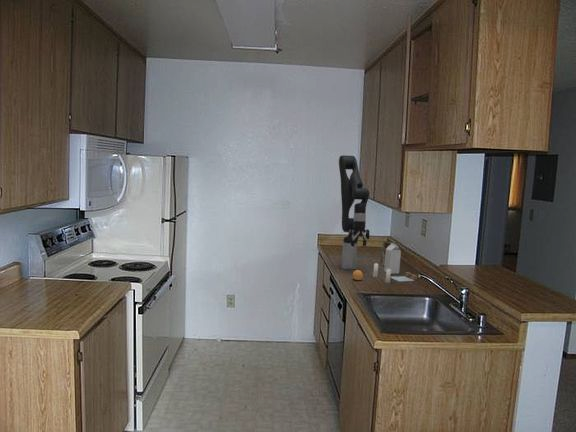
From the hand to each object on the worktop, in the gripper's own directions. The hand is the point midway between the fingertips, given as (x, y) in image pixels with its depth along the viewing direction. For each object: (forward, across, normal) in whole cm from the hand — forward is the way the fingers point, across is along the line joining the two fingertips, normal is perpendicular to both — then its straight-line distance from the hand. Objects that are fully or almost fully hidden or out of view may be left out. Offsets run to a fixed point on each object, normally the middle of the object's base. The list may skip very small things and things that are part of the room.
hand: (358, 246), depth 301 cm
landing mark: (+18, -21, +17) cm, 33 cm away
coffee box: (+17, -37, -18) cm, 44 cm away
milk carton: (+18, -26, +1) cm, 31 cm away
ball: (+15, +9, +14) cm, 23 cm away
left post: (+18, -8, +8) cm, 21 cm away
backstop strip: (+18, -27, +18) cm, 38 cm away
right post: (+19, -6, +23) cm, 30 cm away
